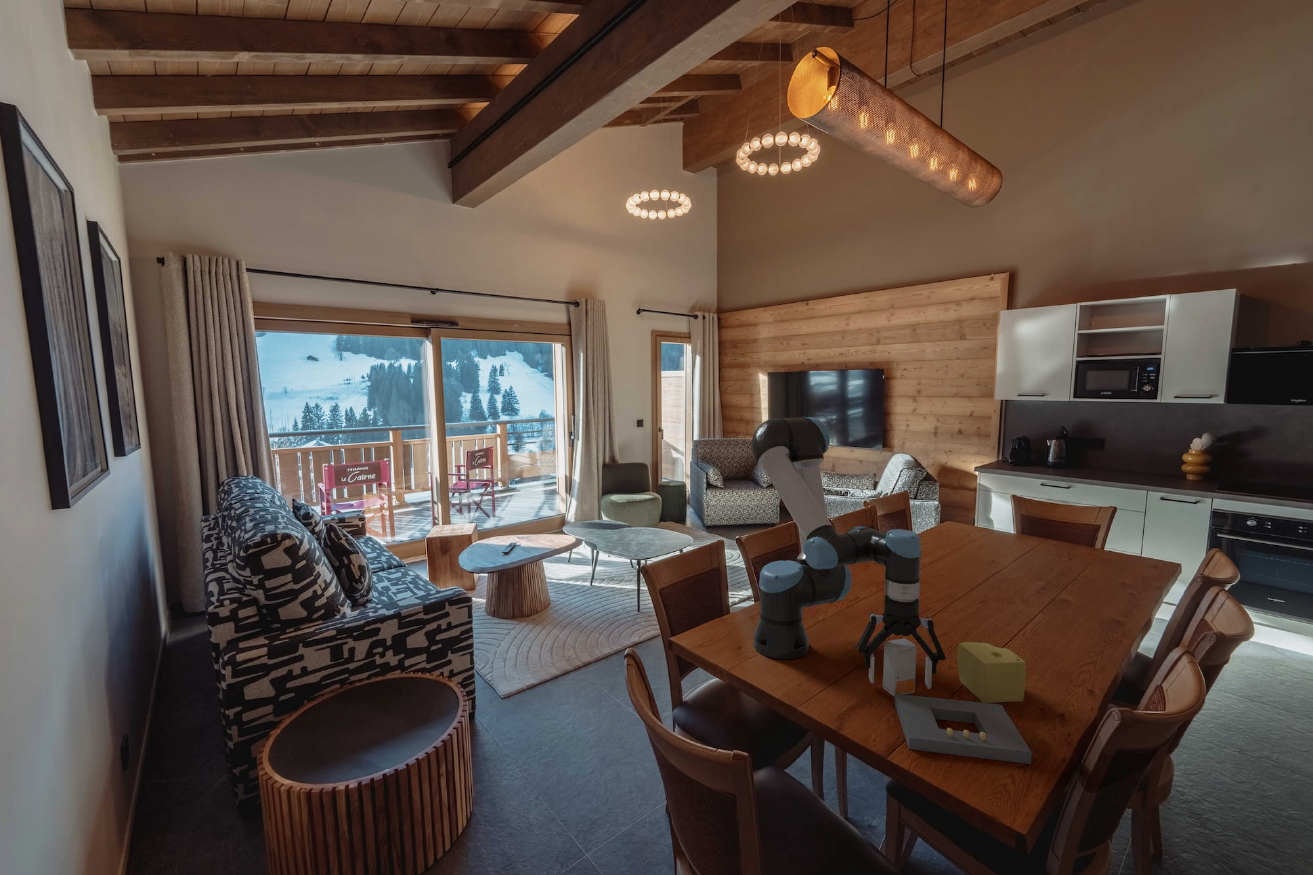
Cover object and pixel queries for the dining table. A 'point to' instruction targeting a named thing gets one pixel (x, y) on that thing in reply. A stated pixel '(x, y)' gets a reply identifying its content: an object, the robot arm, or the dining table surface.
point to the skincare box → (899, 666)
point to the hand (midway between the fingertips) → (899, 682)
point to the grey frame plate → (990, 719)
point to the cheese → (991, 672)
